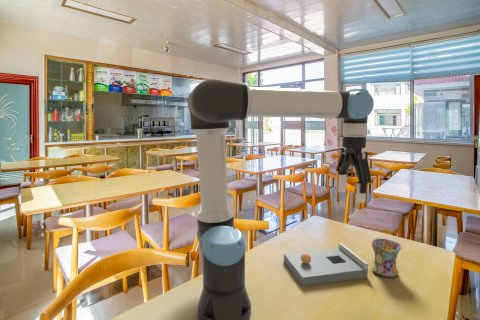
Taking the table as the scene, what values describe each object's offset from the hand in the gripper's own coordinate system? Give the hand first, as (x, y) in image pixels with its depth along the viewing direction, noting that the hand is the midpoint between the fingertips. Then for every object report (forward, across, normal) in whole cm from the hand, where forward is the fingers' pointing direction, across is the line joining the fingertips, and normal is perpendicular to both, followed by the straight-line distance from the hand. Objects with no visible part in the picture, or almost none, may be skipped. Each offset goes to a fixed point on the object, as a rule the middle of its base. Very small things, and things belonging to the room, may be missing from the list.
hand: (350, 197), depth 102 cm
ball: (+24, 0, +15) cm, 28 cm away
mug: (+27, -2, -12) cm, 30 cm away
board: (+27, +1, +8) cm, 28 cm away
